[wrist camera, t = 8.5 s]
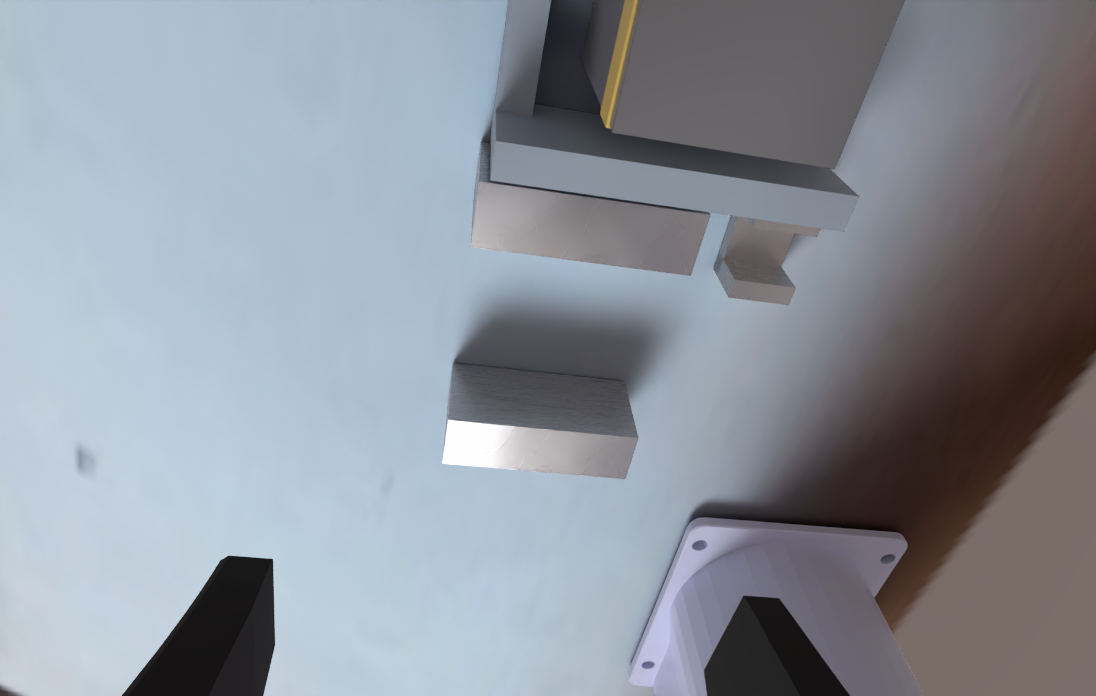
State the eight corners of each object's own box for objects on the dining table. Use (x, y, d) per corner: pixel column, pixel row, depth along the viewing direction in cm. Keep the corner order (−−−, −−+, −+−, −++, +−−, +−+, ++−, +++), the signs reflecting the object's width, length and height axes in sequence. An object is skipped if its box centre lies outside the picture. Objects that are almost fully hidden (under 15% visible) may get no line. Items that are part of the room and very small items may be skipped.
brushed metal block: (612, 420, 22) (625, 479, 20) (447, 404, 21) (442, 463, 19) (684, 173, 18) (710, 214, 16) (480, 141, 17) (479, 181, 15)
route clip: (769, 276, 19) (788, 304, 18) (713, 268, 19) (728, 297, 18) (802, 192, 18) (824, 217, 17) (742, 183, 18) (761, 207, 17)
